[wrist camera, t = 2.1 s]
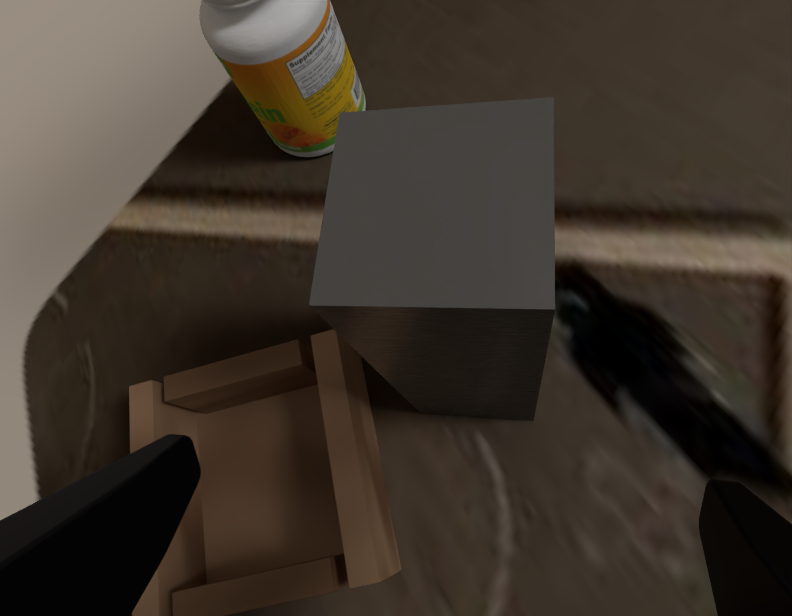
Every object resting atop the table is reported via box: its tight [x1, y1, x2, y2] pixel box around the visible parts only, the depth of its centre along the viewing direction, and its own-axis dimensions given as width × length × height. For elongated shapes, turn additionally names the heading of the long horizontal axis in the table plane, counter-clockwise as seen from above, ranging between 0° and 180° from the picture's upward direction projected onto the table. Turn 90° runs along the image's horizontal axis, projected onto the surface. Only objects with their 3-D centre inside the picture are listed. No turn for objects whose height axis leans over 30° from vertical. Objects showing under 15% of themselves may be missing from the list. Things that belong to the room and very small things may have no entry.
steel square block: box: [309, 97, 555, 421], centre depth 16 cm, size 4×4×12 cm
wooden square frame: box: [129, 329, 401, 616], centre depth 20 cm, size 9×9×4 cm
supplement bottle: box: [200, 0, 366, 157], centre depth 23 cm, size 5×5×10 cm
